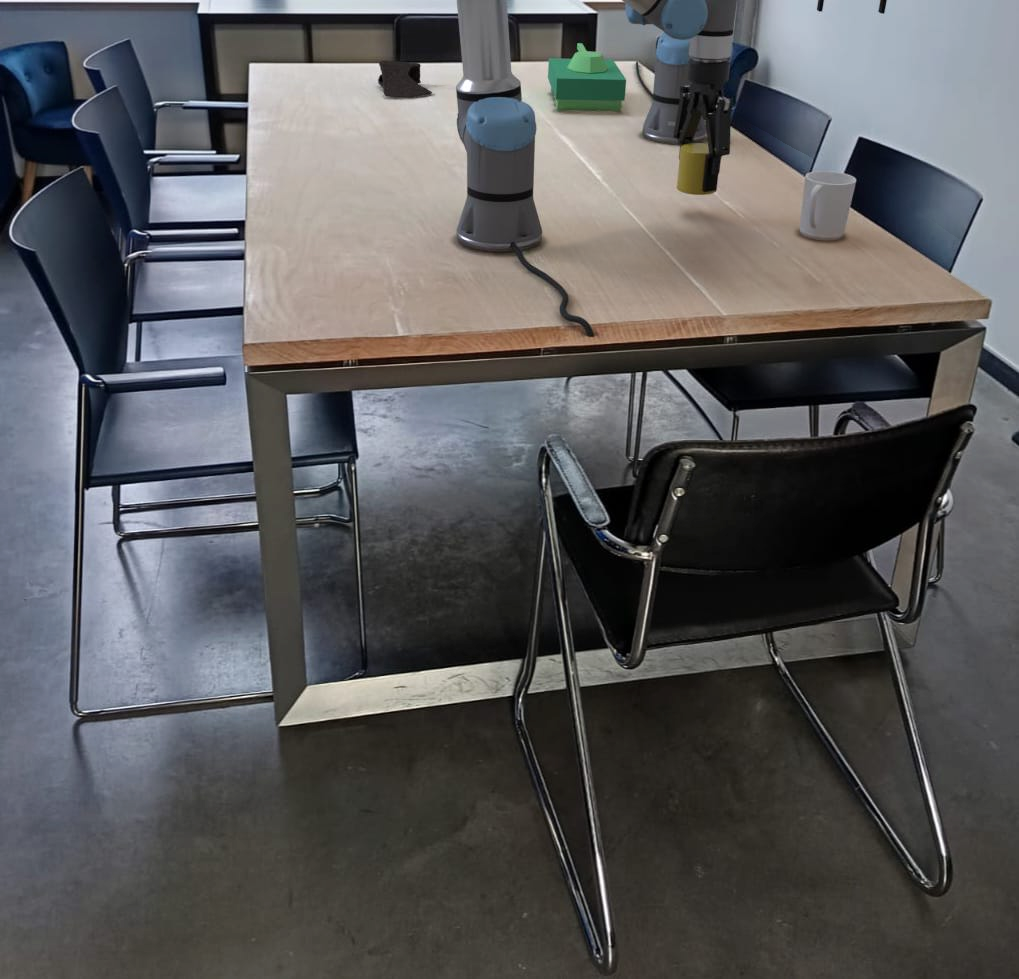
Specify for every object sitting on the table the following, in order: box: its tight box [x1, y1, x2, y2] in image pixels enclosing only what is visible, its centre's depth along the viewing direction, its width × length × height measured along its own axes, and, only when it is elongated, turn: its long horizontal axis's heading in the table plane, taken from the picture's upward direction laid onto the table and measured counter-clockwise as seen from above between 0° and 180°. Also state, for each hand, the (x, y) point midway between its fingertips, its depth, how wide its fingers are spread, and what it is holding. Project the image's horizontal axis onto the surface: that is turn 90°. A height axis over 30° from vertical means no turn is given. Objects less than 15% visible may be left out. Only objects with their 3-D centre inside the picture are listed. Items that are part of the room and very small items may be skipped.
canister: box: [676, 142, 719, 196], centre depth 208 cm, size 8×8×8 cm
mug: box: [798, 170, 857, 241], centre depth 199 cm, size 11×9×10 cm
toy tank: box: [547, 42, 627, 112], centre depth 293 cm, size 18×12×35 cm
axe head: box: [377, 59, 433, 99], centre depth 299 cm, size 18×8×15 cm
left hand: (696, 184), depth 209 cm, fingers closed on canister, 8 cm apart
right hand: (850, 11), depth 243 cm, fingers open, 13 cm apart
